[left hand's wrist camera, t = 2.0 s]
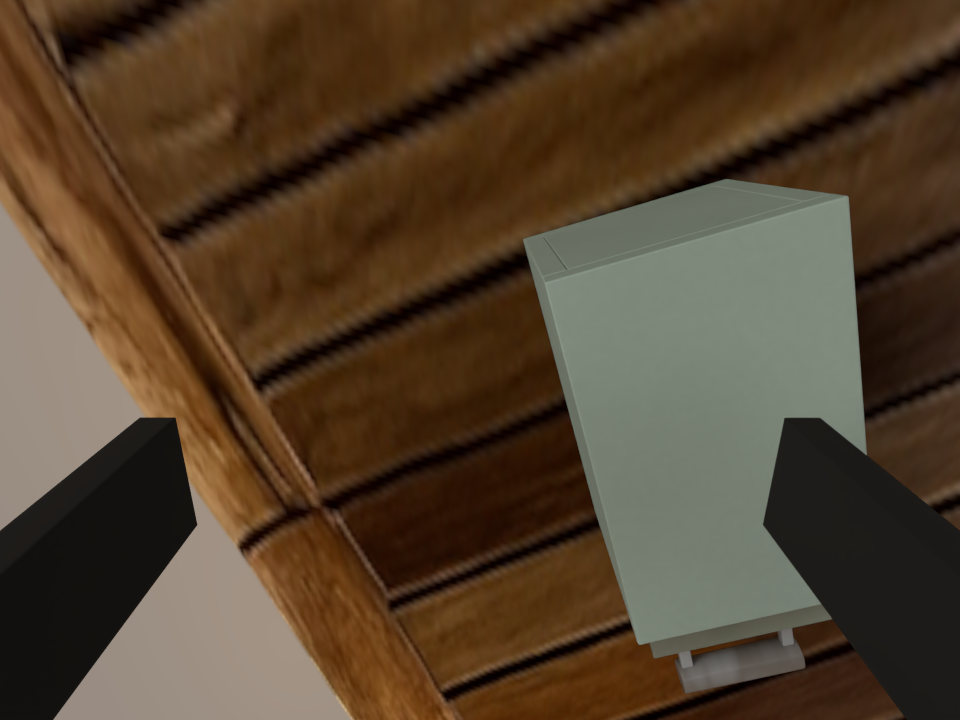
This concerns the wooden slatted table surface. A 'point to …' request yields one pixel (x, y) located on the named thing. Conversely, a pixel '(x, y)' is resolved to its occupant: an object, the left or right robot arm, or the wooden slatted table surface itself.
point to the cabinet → (701, 384)
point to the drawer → (739, 650)
